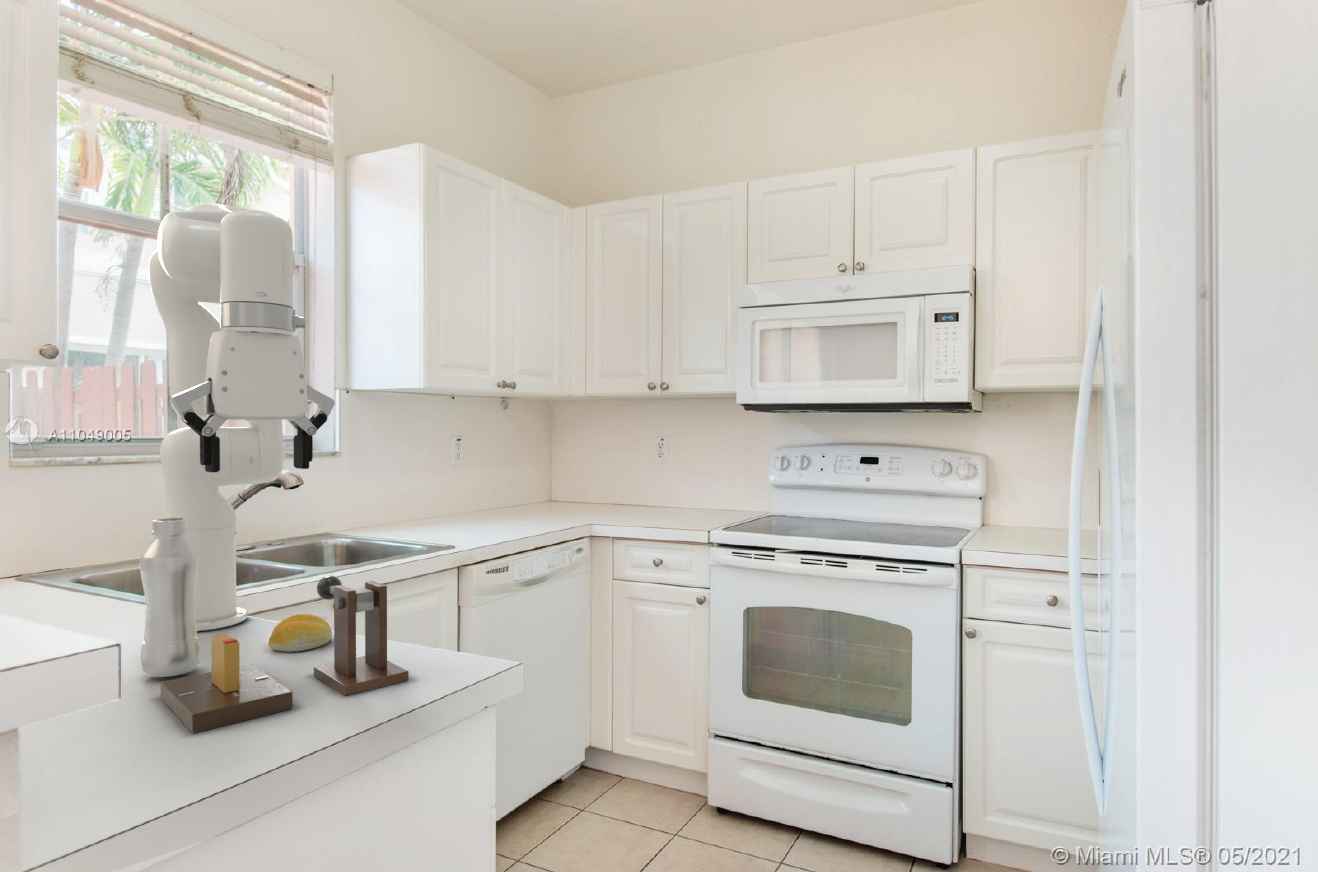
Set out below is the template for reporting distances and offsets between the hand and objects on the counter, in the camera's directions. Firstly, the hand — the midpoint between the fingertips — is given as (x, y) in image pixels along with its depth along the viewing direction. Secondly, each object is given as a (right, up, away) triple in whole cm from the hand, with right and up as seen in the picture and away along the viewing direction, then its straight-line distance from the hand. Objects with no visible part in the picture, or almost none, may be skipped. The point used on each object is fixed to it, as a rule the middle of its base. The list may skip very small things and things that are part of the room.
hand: (258, 470), depth 90 cm
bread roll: (-6, -27, +23) cm, 36 cm away
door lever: (+5, -18, +12) cm, 22 cm away
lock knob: (-3, -25, -1) cm, 25 cm away
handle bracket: (+9, -27, +8) cm, 29 cm away
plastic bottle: (-16, -27, +9) cm, 33 cm away
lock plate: (-3, -27, -1) cm, 27 cm away
